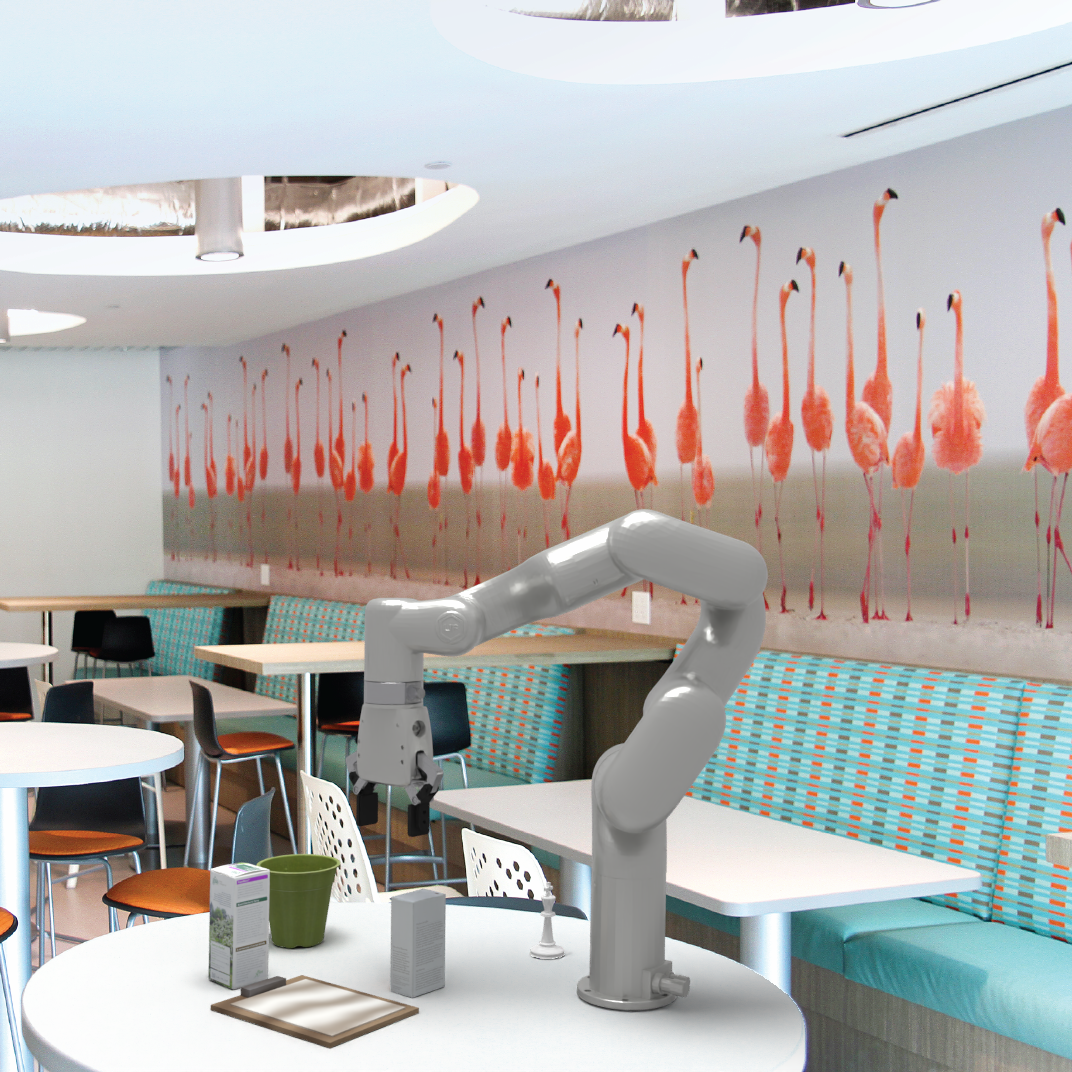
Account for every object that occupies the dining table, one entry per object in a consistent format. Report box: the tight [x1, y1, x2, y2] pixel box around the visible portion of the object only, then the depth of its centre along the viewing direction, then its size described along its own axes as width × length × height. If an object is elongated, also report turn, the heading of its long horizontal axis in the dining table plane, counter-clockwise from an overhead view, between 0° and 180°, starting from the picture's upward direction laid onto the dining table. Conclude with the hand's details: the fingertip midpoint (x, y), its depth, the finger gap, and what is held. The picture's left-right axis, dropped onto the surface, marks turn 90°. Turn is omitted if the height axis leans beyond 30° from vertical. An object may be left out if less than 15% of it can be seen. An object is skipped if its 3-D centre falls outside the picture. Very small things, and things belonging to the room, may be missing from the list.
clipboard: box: [210, 974, 420, 1049], centre depth 156 cm, size 20×15×2 cm
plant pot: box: [255, 853, 341, 949], centre depth 185 cm, size 12×12×11 cm
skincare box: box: [389, 888, 447, 999], centre depth 165 cm, size 6×4×12 cm
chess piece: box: [529, 881, 566, 960], centre depth 182 cm, size 5×5×10 cm
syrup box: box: [208, 862, 270, 990], centre depth 167 cm, size 6×6×14 cm
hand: (392, 829), depth 165 cm, fingers open, 9 cm apart
